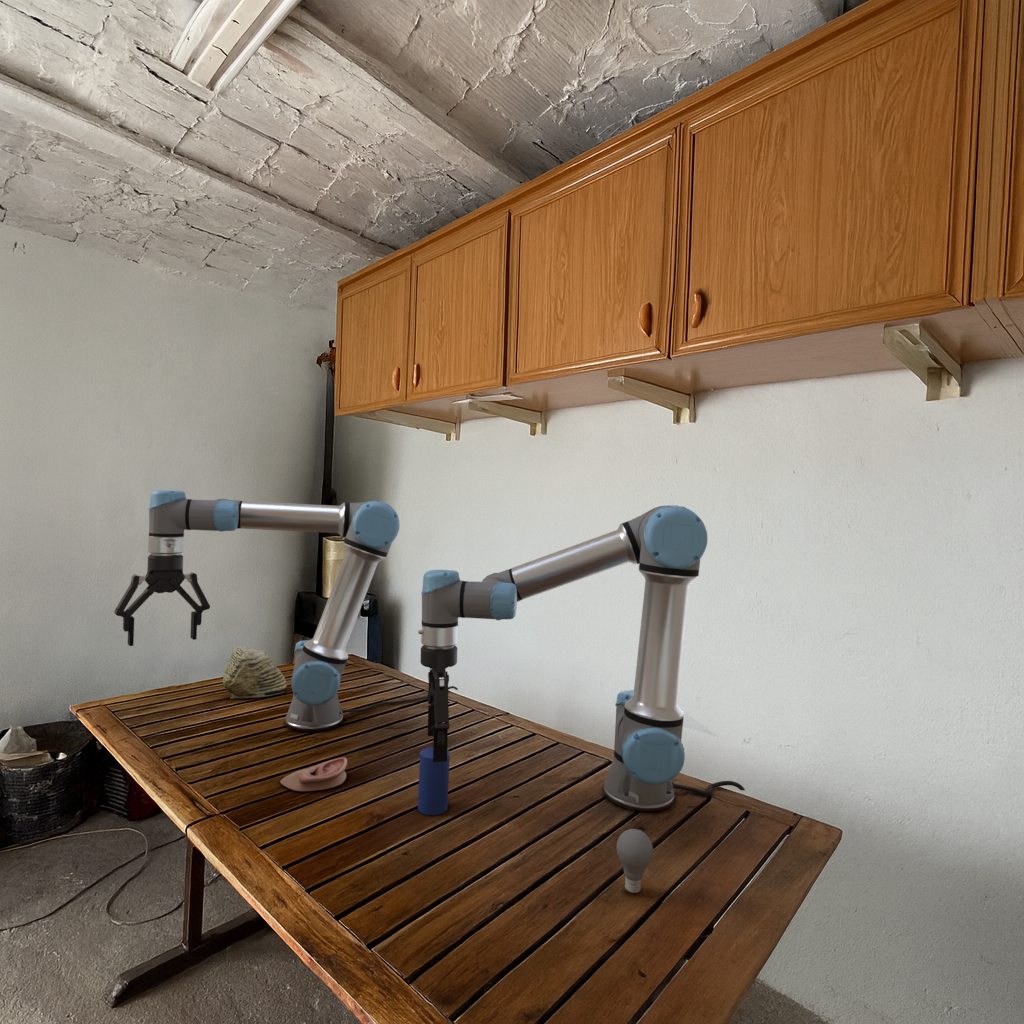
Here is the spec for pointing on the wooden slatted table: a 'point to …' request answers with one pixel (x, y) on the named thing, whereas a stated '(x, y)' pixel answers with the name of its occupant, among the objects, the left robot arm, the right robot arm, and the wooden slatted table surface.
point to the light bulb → (634, 857)
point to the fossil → (252, 674)
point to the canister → (433, 783)
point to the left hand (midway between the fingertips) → (162, 641)
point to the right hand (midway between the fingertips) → (436, 747)
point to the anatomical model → (317, 776)
